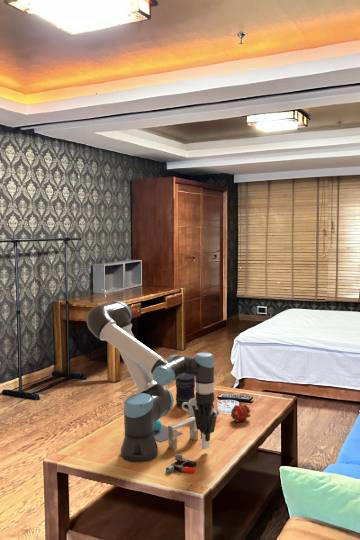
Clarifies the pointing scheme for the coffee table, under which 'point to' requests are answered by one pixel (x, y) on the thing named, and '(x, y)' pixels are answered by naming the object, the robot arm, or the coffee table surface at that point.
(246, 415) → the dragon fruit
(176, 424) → the bridge
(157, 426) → the ball
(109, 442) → the coffee table surface
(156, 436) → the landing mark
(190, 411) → the teacup
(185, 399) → the storage jar
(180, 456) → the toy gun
